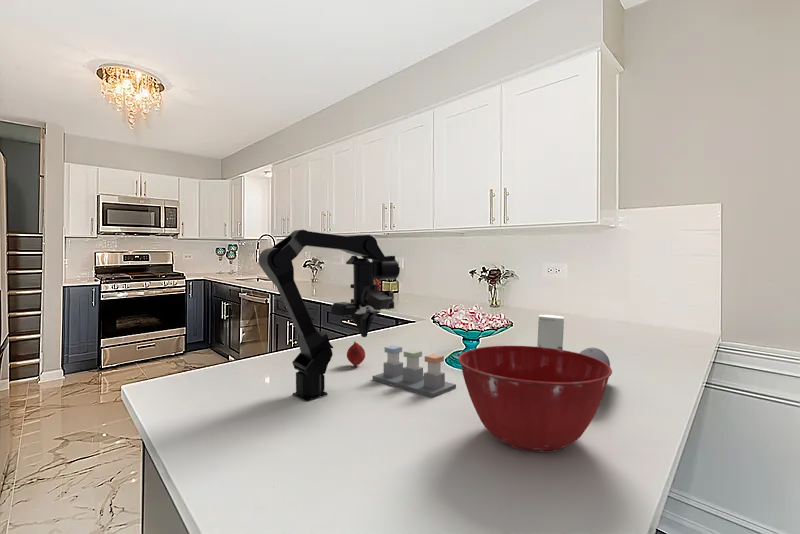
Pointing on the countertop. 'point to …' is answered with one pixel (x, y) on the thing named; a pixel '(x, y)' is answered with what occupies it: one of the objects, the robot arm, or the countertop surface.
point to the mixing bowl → (534, 393)
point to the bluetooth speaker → (596, 354)
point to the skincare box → (550, 331)
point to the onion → (356, 354)
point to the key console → (414, 380)
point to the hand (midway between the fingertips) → (364, 337)
